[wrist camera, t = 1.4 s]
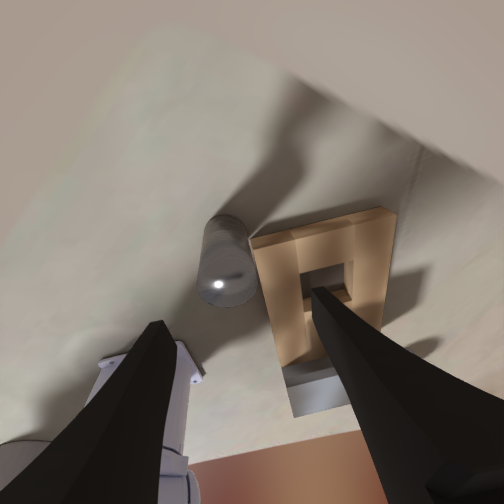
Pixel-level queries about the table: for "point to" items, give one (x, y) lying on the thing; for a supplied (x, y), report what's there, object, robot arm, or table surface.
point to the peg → (226, 264)
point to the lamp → (17, 458)
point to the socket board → (331, 277)
